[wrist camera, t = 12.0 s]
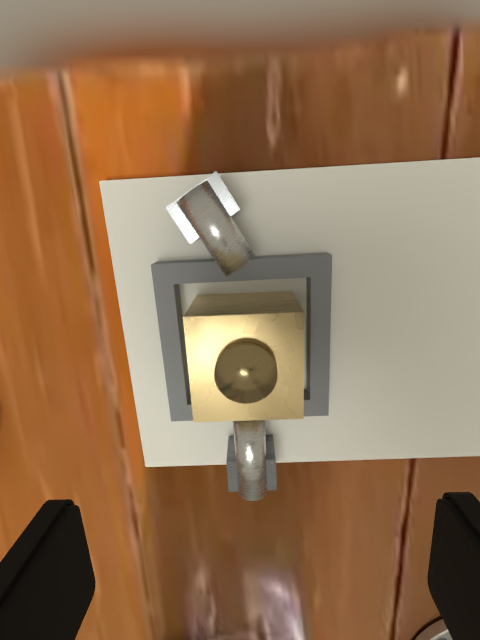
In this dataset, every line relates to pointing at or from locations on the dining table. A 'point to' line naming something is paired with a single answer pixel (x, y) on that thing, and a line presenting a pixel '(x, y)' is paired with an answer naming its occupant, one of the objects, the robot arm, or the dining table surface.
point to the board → (317, 306)
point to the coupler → (245, 356)
